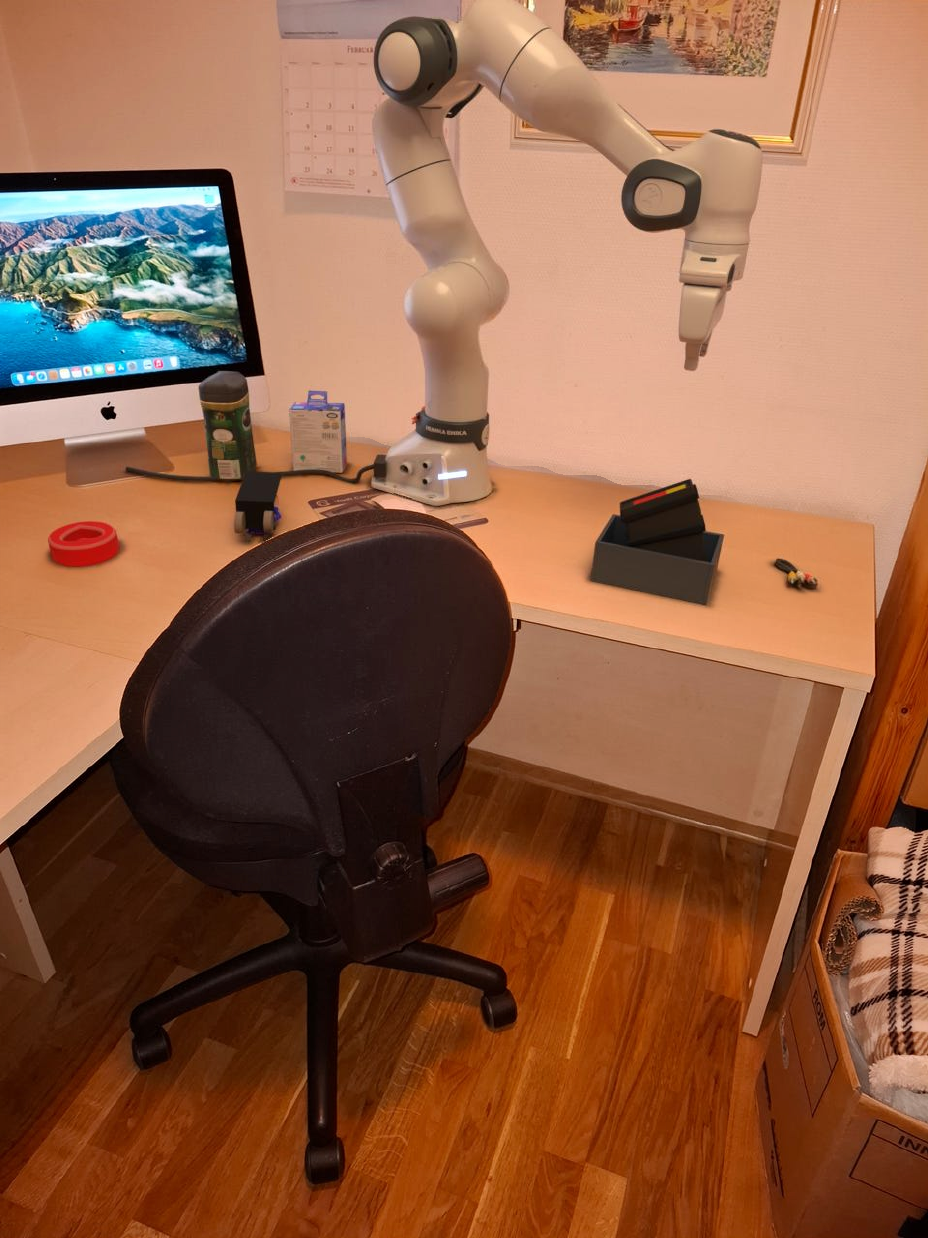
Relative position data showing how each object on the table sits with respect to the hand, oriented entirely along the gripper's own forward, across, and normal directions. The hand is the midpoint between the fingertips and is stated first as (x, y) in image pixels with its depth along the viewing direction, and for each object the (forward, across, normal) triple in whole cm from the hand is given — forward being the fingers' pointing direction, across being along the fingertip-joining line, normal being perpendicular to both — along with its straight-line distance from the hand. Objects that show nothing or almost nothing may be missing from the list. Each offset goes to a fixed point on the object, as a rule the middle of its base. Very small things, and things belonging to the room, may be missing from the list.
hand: (695, 362), depth 127 cm
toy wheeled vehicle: (+29, +26, -62) cm, 73 cm away
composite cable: (+29, +6, +21) cm, 36 cm away
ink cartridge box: (+29, -2, -67) cm, 73 cm away
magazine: (+29, +15, +1) cm, 32 cm away
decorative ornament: (+29, +45, -81) cm, 97 cm away
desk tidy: (+29, +15, +1) cm, 33 cm away
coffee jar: (+29, +8, -80) cm, 85 cm away
